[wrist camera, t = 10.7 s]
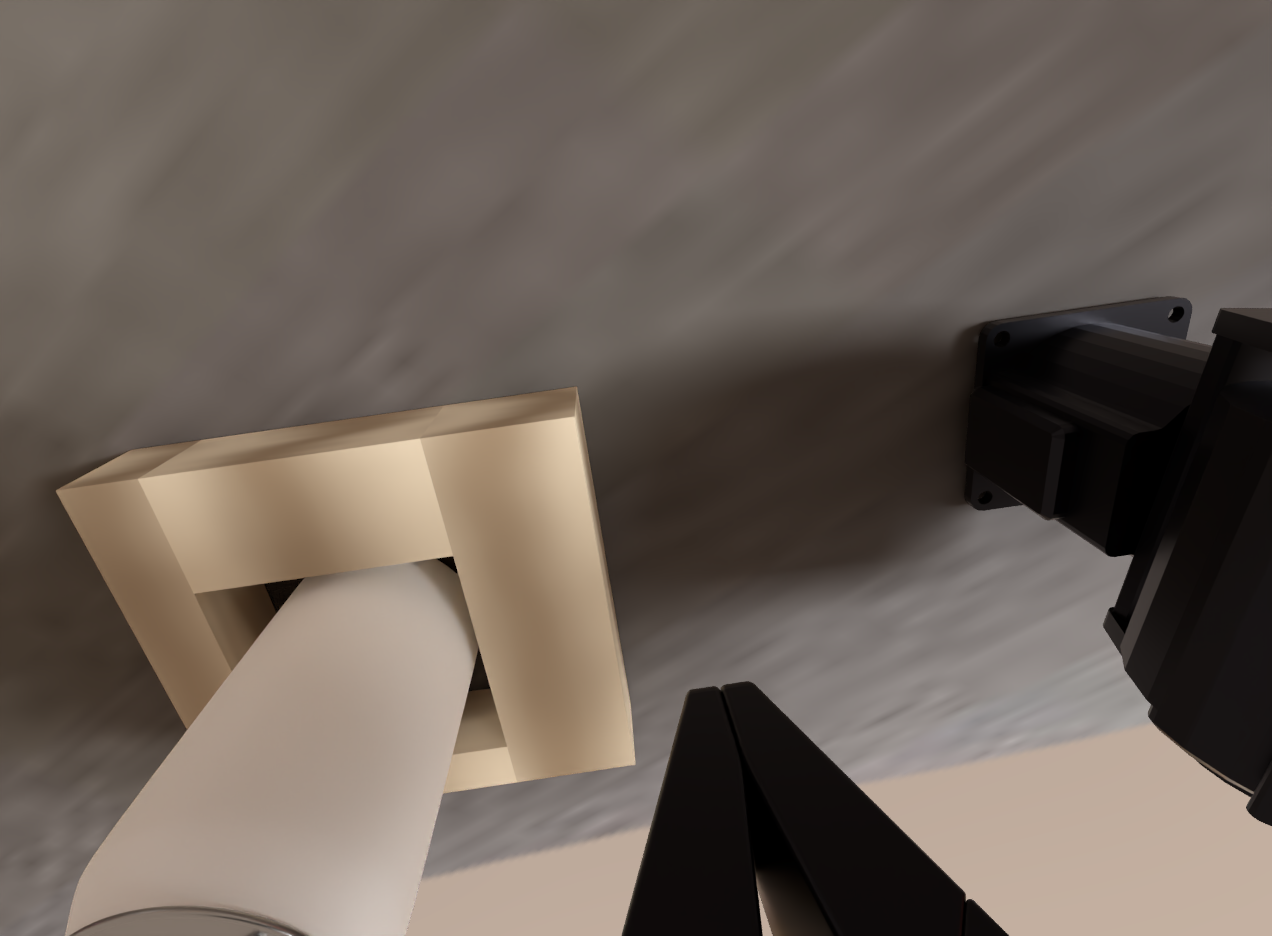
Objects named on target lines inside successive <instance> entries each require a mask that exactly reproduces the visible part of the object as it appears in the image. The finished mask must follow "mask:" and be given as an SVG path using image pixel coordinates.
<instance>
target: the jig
mask: <svg viewBox="0 0 1272 936" xmlns="http://www.w3.org/2000/svg"><path fill="white" fill-rule="evenodd" d="M56 493H57V495H58V496H59V498H60V500H61V502H62V504H63V505H64V507H65V509H66V511H67V513H68V515H69V516H70V518H71V520H72V522H73V524H74V525H75V527H76V529H77V531H78V533H79V534H80V536H81V538H82V540H83V542H84V544H85V545H86V547H87V549H88V551H89V553H90V554H91V556H92V558H93V560H94V562H95V564H96V565H97V567H98V569H99V571H100V573H101V574H102V576H103V578H104V580H105V582H106V584H107V585H108V587H109V589H110V591H111V593H112V594H113V596H114V598H115V600H116V602H117V604H118V605H119V607H120V609H121V611H122V613H123V614H124V616H125V618H126V620H127V622H128V624H129V625H130V627H131V629H132V631H133V633H134V634H135V636H136V638H137V640H138V642H139V644H140V645H141V647H142V649H143V651H144V653H145V654H146V656H147V658H148V660H149V662H150V664H151V665H152V667H153V669H154V671H155V673H156V674H157V676H158V678H159V680H160V682H161V683H162V685H163V687H164V689H165V691H166V693H167V694H168V696H169V698H170V700H171V702H172V703H173V705H174V707H175V709H176V711H177V713H178V714H179V716H180V718H181V720H182V722H183V723H184V725H185V727H186V729H187V730H188V728H189V727H190V726H191V724H192V723H193V722H194V720H195V719H196V718H197V716H198V715H199V714H200V713H201V711H202V710H203V709H204V707H205V706H206V705H207V703H208V702H209V701H210V699H211V698H212V697H213V696H214V694H215V693H216V692H217V690H218V689H219V688H220V686H221V685H222V684H223V682H224V681H225V680H226V678H227V677H228V676H229V675H230V673H231V672H232V671H233V669H234V668H235V667H236V665H237V664H238V663H239V662H240V660H241V659H242V658H243V656H244V655H245V654H246V652H247V651H248V650H249V648H250V647H251V646H252V645H253V643H254V642H255V641H256V639H257V638H258V637H259V635H260V634H261V633H262V632H263V630H264V629H265V628H266V626H267V625H268V624H269V622H270V621H271V620H272V619H273V617H274V616H275V615H276V611H275V609H274V606H273V604H272V602H271V599H270V597H269V595H268V592H267V590H266V588H265V585H264V583H271V582H278V581H285V580H292V579H299V578H306V577H312V576H319V575H326V574H333V573H340V572H347V571H354V570H361V569H368V568H374V567H381V566H388V565H395V564H402V563H409V562H416V561H423V560H430V559H436V558H443V557H450V556H453V557H454V561H455V564H456V568H457V571H458V575H459V578H460V582H461V585H462V589H463V592H464V596H465V600H466V603H467V607H468V610H469V614H470V617H471V621H472V624H473V628H474V631H475V635H476V638H477V642H478V646H479V649H480V653H481V656H482V660H483V663H484V667H485V670H486V674H487V677H488V681H489V684H490V688H489V689H482V690H476V691H469V692H468V694H467V698H466V702H465V706H464V710H463V714H462V718H461V722H460V726H459V730H458V734H457V738H456V743H455V747H454V751H453V755H452V759H451V763H450V767H449V771H448V774H447V778H446V782H445V786H444V790H443V793H449V792H456V791H462V790H469V789H476V788H482V787H489V786H496V785H502V784H509V783H516V782H522V781H529V780H536V779H542V778H549V777H556V776H562V775H569V774H576V773H582V772H589V771H596V770H602V769H609V768H616V767H622V766H629V765H635V752H634V740H633V727H632V715H631V703H630V697H629V691H628V685H627V679H626V673H625V667H624V661H623V655H622V649H621V644H620V638H619V632H618V626H617V620H616V614H615V608H614V602H613V597H612V591H611V585H610V579H609V573H608V567H607V561H606V555H605V549H604V544H603V538H602V532H601V526H600V520H599V514H598V508H597V502H596V497H595V491H594V485H593V479H592V473H591V467H590V461H589V455H588V449H587V444H586V438H585V432H584V426H583V420H582V414H581V408H580V402H579V396H578V391H577V387H570V388H563V389H556V390H549V391H542V392H535V393H528V394H521V395H514V396H507V397H500V398H493V399H486V400H479V401H472V402H465V403H458V404H451V405H443V406H436V407H429V408H422V409H415V410H408V411H401V412H394V413H387V414H380V415H373V416H366V417H359V418H352V419H345V420H338V421H331V422H324V423H317V424H310V425H303V426H296V427H289V428H282V429H275V430H268V431H261V432H254V433H246V434H239V435H232V436H225V437H218V438H211V439H204V440H197V441H190V442H183V443H176V444H169V445H162V446H155V447H148V448H141V449H134V450H130V451H128V452H126V453H124V454H123V455H121V456H119V457H117V458H115V459H113V460H111V461H110V462H108V463H106V464H104V465H102V466H100V467H98V468H97V469H95V470H93V471H91V472H89V473H87V474H85V475H84V476H82V477H80V478H78V479H76V480H74V481H72V482H70V483H69V484H67V485H65V486H63V487H61V488H59V489H57V490H56Z"/></svg>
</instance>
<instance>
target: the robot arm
mask: <svg viewBox="0 0 1272 936" xmlns="http://www.w3.org/2000/svg"><path fill="white" fill-rule="evenodd" d="M1172 309H1173V313H1172V315H1171V316H1170V317H1169V318H1168V314H1169V312H1170V311H1171V310H1172ZM1191 314H1192V305H1191V303H1190V301H1189V300H1187V299H1185V298H1179V297H1172V296H1167V297H1160V298H1153V299H1146V300H1139V301H1132V302H1125V303H1118V304H1111V305H1104V306H1097V307H1090V308H1083V309H1075V310H1068V311H1061V312H1054V313H1047V314H1040V315H1033V316H1026V317H1019V318H1012V319H1005V320H998V321H994V322H991V323H989V324H988V325H986V326H985V327H984V328H983V330H982V331H981V333H980V336H979V342H978V353H977V364H976V375H975V386H974V390H973V392H972V394H971V396H970V405H969V416H968V427H967V439H966V450H965V463H966V464H967V474H966V485H965V500H966V501H967V503H968V504H970V505H971V506H972V507H973V508H975V509H977V510H991V509H997V508H1004V507H1011V506H1018V505H1025V506H1026V507H1027V508H1029V509H1030V510H1032V511H1033V512H1035V513H1036V514H1037V515H1039V516H1040V517H1042V518H1043V519H1045V520H1056V521H1058V522H1059V523H1061V524H1062V525H1064V526H1065V527H1067V528H1068V529H1070V530H1071V531H1073V532H1074V533H1075V534H1077V535H1078V536H1080V537H1081V538H1083V539H1084V540H1086V541H1087V542H1089V543H1090V544H1092V545H1093V546H1095V547H1096V548H1097V549H1099V550H1100V551H1102V552H1103V553H1105V554H1106V555H1108V556H1110V557H1117V556H1124V555H1131V556H1132V557H1133V559H1132V562H1131V564H1130V567H1129V570H1128V572H1127V575H1126V578H1125V580H1124V583H1123V586H1122V588H1121V591H1120V594H1119V596H1118V599H1117V602H1116V604H1115V607H1112V608H1109V610H1108V613H1107V615H1106V618H1105V621H1104V623H1103V627H1104V629H1105V630H1106V632H1107V633H1108V635H1109V637H1110V638H1111V640H1112V641H1113V643H1114V644H1115V646H1116V648H1117V649H1118V651H1119V652H1120V654H1121V655H1122V659H1123V664H1124V669H1125V671H1126V672H1127V674H1128V675H1129V676H1130V678H1131V679H1132V680H1133V682H1134V683H1135V685H1136V686H1137V687H1138V689H1139V690H1140V691H1141V693H1142V694H1143V696H1144V697H1145V698H1146V700H1147V701H1148V702H1149V703H1150V704H1151V706H1150V709H1149V711H1148V717H1149V718H1150V720H1151V721H1152V722H1153V723H1154V725H1155V726H1156V727H1157V728H1158V729H1159V730H1160V731H1161V732H1162V733H1163V734H1164V735H1166V736H1167V737H1168V738H1169V739H1170V740H1172V741H1173V742H1174V743H1175V744H1176V745H1178V746H1179V747H1180V748H1181V749H1182V750H1184V751H1185V752H1186V753H1188V755H1190V756H1191V757H1193V758H1194V759H1195V760H1196V761H1197V762H1199V763H1200V764H1201V765H1202V766H1203V767H1205V768H1206V769H1207V770H1209V771H1210V772H1211V773H1213V774H1214V775H1216V776H1217V777H1219V778H1220V779H1221V780H1223V781H1224V782H1225V783H1227V784H1229V785H1230V786H1232V787H1234V788H1236V789H1238V790H1239V791H1241V792H1243V793H1244V794H1246V795H1248V796H1249V797H1251V799H1250V800H1249V802H1248V804H1247V806H1246V809H1247V811H1248V812H1249V813H1250V814H1251V815H1252V816H1253V817H1254V818H1256V819H1257V820H1259V821H1261V822H1263V823H1265V824H1268V825H1270V826H1272V308H1221V309H1220V311H1219V313H1218V316H1217V319H1216V321H1215V324H1214V327H1213V329H1212V333H1215V334H1217V335H1216V337H1215V340H1214V343H1213V345H1212V346H1210V345H1206V344H1201V343H1197V342H1192V341H1188V340H1186V336H1187V332H1188V327H1189V323H1190V318H1191ZM1001 331H1002V338H1001V340H1000V341H999V342H998V343H997V344H994V338H995V336H996V335H997V334H998V333H999V332H1001ZM984 491H986V493H985V495H984V496H983V497H982V498H980V499H978V497H979V495H980V494H981V493H982V492H984ZM757 888H758V890H757ZM758 891H759V895H760V898H761V901H762V904H763V907H764V910H765V913H766V916H767V919H768V922H769V925H770V928H771V931H772V934H773V936H1009V935H1008V934H1007V933H1006V932H1005V931H1004V930H1003V929H1002V928H1001V927H1000V926H999V925H998V924H997V923H996V922H995V921H994V920H993V919H992V918H991V917H989V915H988V914H987V913H986V912H985V911H984V910H983V909H982V908H981V907H980V906H979V905H977V903H976V902H975V901H974V900H972V899H968V900H967V901H966V894H965V892H964V891H963V890H962V889H961V888H960V887H959V886H958V885H957V884H956V883H955V882H954V881H953V880H952V879H951V878H950V877H949V876H948V875H947V874H946V873H945V872H944V871H943V870H942V869H941V868H940V867H939V866H938V865H937V864H936V863H935V862H934V861H933V860H932V859H931V858H930V857H929V856H928V855H927V854H926V853H925V852H924V851H923V850H921V848H920V847H919V846H918V845H916V843H914V841H913V840H912V839H910V837H908V836H907V835H906V834H905V833H904V832H903V831H902V830H901V829H900V828H899V827H898V826H897V825H896V824H895V823H894V822H893V821H892V820H891V819H890V818H889V817H888V816H887V815H886V814H885V813H884V812H883V811H882V810H881V809H880V808H879V807H878V806H877V805H876V804H875V803H874V802H873V801H872V800H871V799H870V798H869V797H868V796H867V795H866V794H865V793H864V792H863V791H862V790H861V789H860V788H859V787H858V786H857V785H856V784H855V783H854V782H853V781H852V780H851V779H850V778H849V777H848V776H847V775H846V774H845V773H844V772H843V771H842V770H841V769H840V768H839V767H838V766H837V765H836V764H835V763H834V762H833V761H832V760H831V759H830V758H829V757H828V756H827V755H826V754H825V753H824V752H823V751H821V750H820V749H819V748H818V747H817V746H816V745H815V744H814V743H813V742H812V741H811V740H810V739H809V738H808V737H807V736H806V735H805V734H804V733H803V732H802V731H801V730H800V729H799V728H798V727H797V726H796V725H795V724H794V723H793V722H792V721H791V720H790V719H789V718H788V717H787V716H786V715H785V714H784V713H783V712H782V711H781V710H780V709H779V708H778V707H777V706H776V705H775V704H774V703H773V702H772V701H771V700H770V699H769V698H768V697H767V696H766V695H765V694H764V693H763V692H762V691H761V690H760V689H759V688H758V687H757V686H756V685H755V684H754V683H752V682H749V681H746V682H739V683H732V684H726V685H723V686H722V687H721V690H719V689H718V687H715V686H712V687H706V688H699V689H692V690H690V691H689V692H688V693H687V695H686V698H685V702H684V705H683V709H682V713H681V716H680V720H679V724H678V728H677V731H676V735H675V739H674V742H673V746H672V750H671V754H670V757H669V761H668V765H667V769H666V772H665V776H664V780H663V783H662V787H661V791H660V795H659V798H658V802H657V806H656V809H655V813H654V817H653V821H652V824H651V828H650V832H649V835H648V839H647V843H646V847H645V851H644V854H643V858H642V862H641V865H640V869H639V873H638V876H637V880H636V884H635V888H634V891H633V895H632V899H631V903H630V906H629V910H628V914H627V918H626V921H625V925H624V929H623V932H622V936H763V935H762V926H761V917H760V908H759V899H758Z"/></svg>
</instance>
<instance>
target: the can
mask: <svg viewBox="0 0 1272 936" xmlns="http://www.w3.org/2000/svg"><path fill="white" fill-rule="evenodd" d="M478 648H479V646H478V642H477V638H476V635H475V631H474V628H473V624H472V621H471V617H470V614H469V610H468V607H467V603H466V600H465V596H464V592H463V589H462V585H461V582H460V578H459V576H458V575H457V574H456V573H455V572H454V571H453V570H452V569H450V568H449V567H448V566H446V565H445V564H443V563H442V562H440V561H439V560H437V559H430V560H423V561H416V562H409V563H402V564H395V565H388V566H381V567H374V568H368V569H361V570H354V571H347V572H340V573H333V574H326V575H319V576H312V577H306V578H304V579H303V580H302V582H301V583H300V584H299V585H298V586H297V588H296V589H295V590H294V592H293V593H292V594H291V595H290V597H289V598H288V599H287V600H286V602H285V603H284V604H283V606H282V607H281V608H280V610H279V611H278V612H277V613H276V615H275V616H274V617H273V619H272V620H271V621H270V622H269V624H268V625H267V626H266V628H265V629H264V630H263V632H262V633H261V634H260V635H259V637H258V638H257V639H256V641H255V642H254V643H253V645H252V646H251V647H250V648H249V650H248V651H247V652H246V654H245V655H244V656H243V658H242V659H241V660H240V662H239V663H238V664H237V665H236V667H235V668H234V669H233V671H232V672H231V673H230V675H229V676H228V677H227V678H226V680H225V681H224V682H223V684H222V685H221V686H220V688H219V689H218V690H217V692H216V693H215V694H214V696H213V697H212V698H211V699H210V701H209V702H208V703H207V705H206V706H205V707H204V709H203V710H202V711H201V713H200V714H199V715H198V716H197V718H196V719H195V720H194V722H193V723H192V724H191V726H190V727H189V728H188V730H187V731H186V732H185V734H184V735H183V736H182V738H181V739H180V740H179V741H178V743H177V744H176V745H175V747H174V748H173V749H172V751H171V752H170V753H169V755H168V756H167V757H166V759H165V760H164V761H163V763H162V764H161V765H160V767H159V768H158V769H157V770H156V772H155V773H154V774H153V776H152V777H151V778H150V780H149V781H148V782H147V784H146V785H145V786H144V788H143V789H142V790H141V792H140V793H139V794H138V796H137V797H136V798H135V800H134V801H133V802H132V804H131V805H130V806H129V808H128V809H127V810H126V812H125V813H124V814H123V816H122V817H121V818H120V820H119V821H118V822H117V824H116V825H115V826H114V828H113V829H112V830H111V832H110V833H109V835H108V836H107V837H106V839H105V840H104V842H103V843H102V844H101V846H100V847H99V849H98V850H97V851H96V853H95V854H94V856H93V857H92V859H91V861H90V862H89V864H88V865H87V867H86V869H85V870H84V872H83V874H82V876H81V878H80V880H79V883H78V885H77V888H76V891H75V894H74V898H73V902H72V906H71V910H70V915H69V919H68V924H67V929H66V934H65V936H405V935H406V932H407V929H408V925H409V921H410V918H411V915H412V911H413V907H414V904H415V900H416V896H417V892H418V889H419V885H420V881H421V877H422V873H423V869H424V865H425V862H426V858H427V854H428V850H429V846H430V842H431V838H432V834H433V830H434V826H435V822H436V818H437V814H438V810H439V806H440V802H441V798H442V794H443V790H444V786H445V782H446V778H447V774H448V771H449V767H450V763H451V759H452V755H453V751H454V747H455V743H456V738H457V734H458V730H459V726H460V722H461V718H462V714H463V710H464V706H465V702H466V698H467V694H468V690H469V686H470V682H471V678H472V674H473V670H474V665H475V661H476V657H477V653H478Z"/></svg>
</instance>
